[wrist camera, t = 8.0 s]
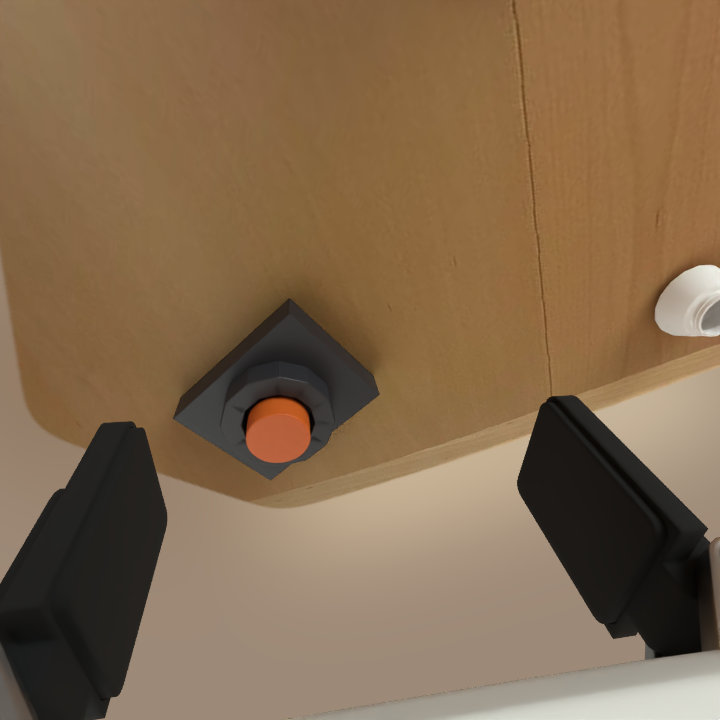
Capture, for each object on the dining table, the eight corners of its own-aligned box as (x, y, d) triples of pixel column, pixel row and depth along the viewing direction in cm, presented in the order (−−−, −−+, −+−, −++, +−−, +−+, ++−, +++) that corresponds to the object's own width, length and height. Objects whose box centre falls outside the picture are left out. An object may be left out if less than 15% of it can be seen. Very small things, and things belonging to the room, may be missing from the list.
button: (234, 421, 25) (231, 441, 24) (278, 384, 25) (277, 402, 23) (279, 452, 27) (279, 472, 26) (321, 419, 26) (324, 437, 25)
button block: (180, 397, 28) (165, 438, 25) (289, 297, 26) (290, 327, 22) (271, 458, 32) (269, 501, 29) (373, 376, 30) (385, 411, 26)
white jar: (717, 313, 31) (723, 251, 29) (755, 332, 29) (765, 265, 26) (650, 340, 32) (650, 281, 29) (682, 361, 29) (685, 298, 27)
